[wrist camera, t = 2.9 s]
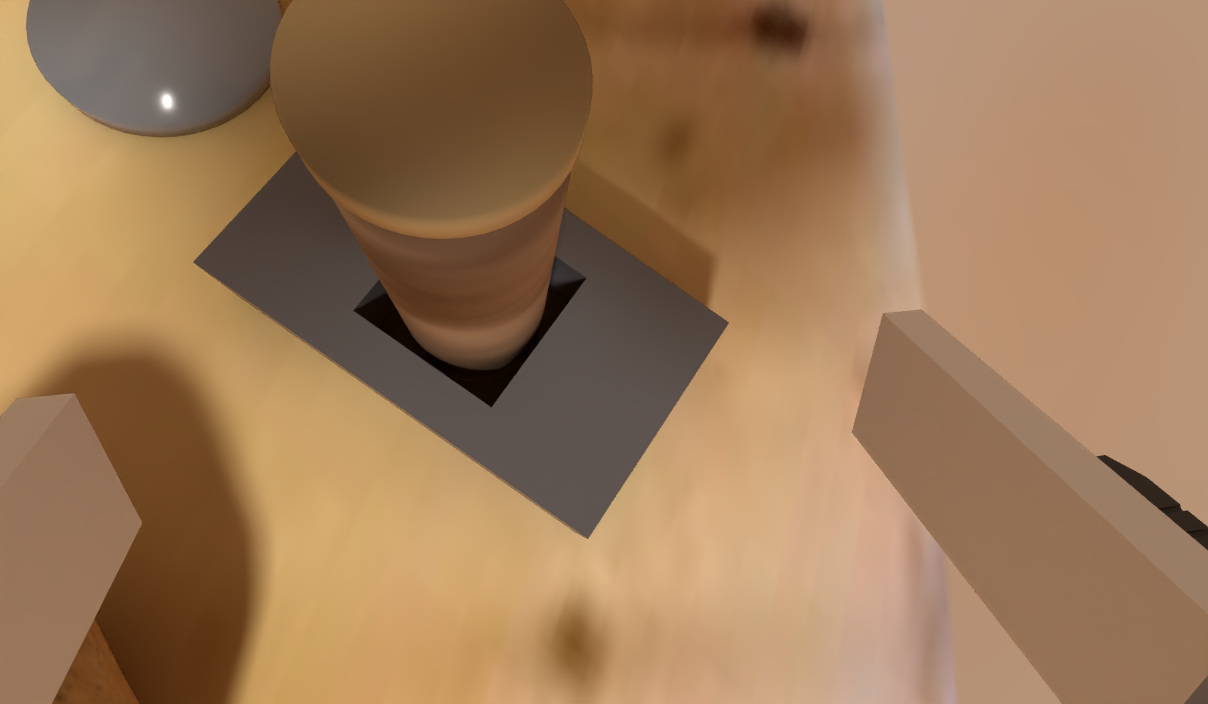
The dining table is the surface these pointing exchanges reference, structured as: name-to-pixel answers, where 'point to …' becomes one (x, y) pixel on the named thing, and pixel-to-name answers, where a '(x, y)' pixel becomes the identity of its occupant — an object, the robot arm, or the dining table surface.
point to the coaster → (155, 59)
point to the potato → (94, 675)
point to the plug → (443, 155)
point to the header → (541, 386)
